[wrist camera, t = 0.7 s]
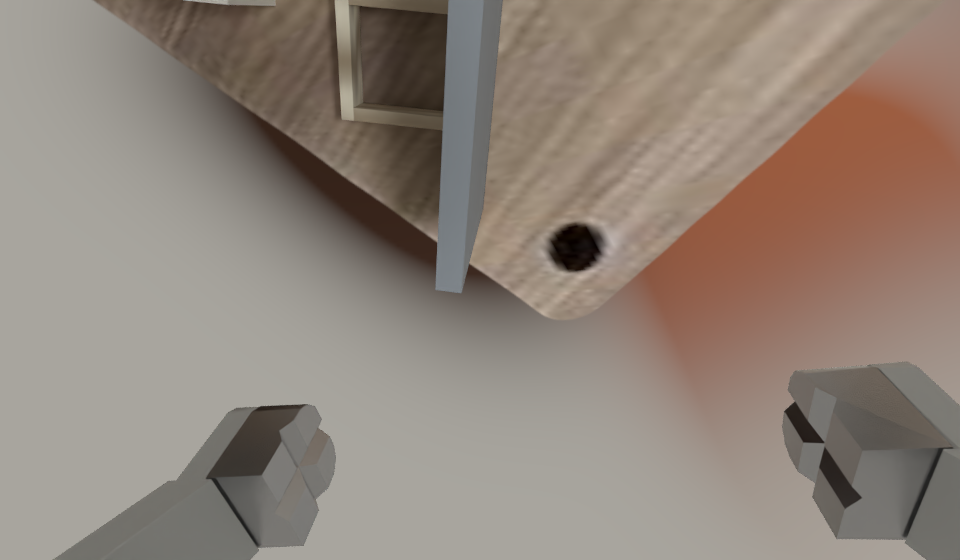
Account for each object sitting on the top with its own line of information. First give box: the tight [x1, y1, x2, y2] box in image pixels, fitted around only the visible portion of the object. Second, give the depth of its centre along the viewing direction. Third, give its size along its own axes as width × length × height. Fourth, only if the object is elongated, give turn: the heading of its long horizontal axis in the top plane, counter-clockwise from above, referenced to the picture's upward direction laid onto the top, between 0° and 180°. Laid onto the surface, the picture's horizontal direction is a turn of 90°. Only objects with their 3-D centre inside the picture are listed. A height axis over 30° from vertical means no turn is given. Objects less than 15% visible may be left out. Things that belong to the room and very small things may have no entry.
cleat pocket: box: [335, 0, 449, 131], centre depth 44 cm, size 11×12×3 cm
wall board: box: [436, 0, 503, 293], centre depth 37 cm, size 28×2×18 cm, turn 175°
